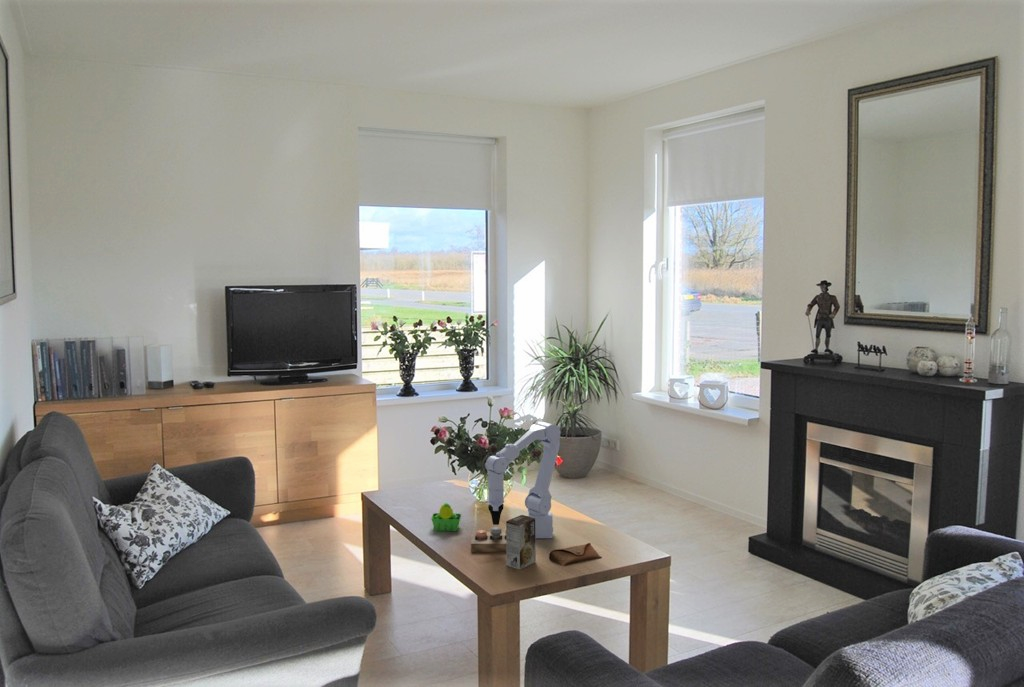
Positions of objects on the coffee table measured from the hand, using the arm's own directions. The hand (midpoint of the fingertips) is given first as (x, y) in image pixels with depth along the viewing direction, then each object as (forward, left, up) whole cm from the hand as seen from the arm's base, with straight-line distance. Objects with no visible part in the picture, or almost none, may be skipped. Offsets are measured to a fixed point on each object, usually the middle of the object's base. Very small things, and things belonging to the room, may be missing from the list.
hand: (495, 524), depth 301 cm
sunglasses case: (-29, +14, -9) cm, 33 cm away
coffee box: (-9, +19, -8) cm, 23 cm away
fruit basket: (+20, -19, -8) cm, 29 cm away
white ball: (-6, 0, -5) cm, 8 cm away
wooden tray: (0, 0, -8) cm, 8 cm away
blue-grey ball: (0, 0, -5) cm, 5 cm away
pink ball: (+6, 0, -7) cm, 9 cm away
